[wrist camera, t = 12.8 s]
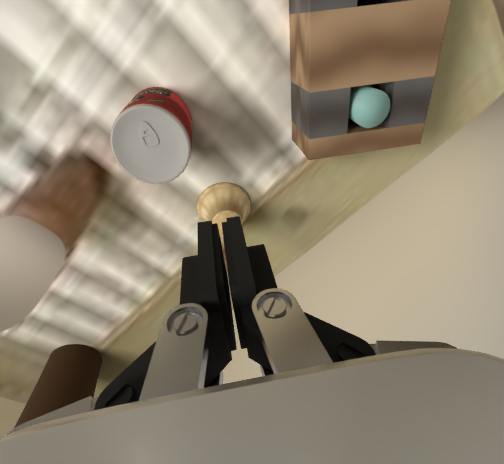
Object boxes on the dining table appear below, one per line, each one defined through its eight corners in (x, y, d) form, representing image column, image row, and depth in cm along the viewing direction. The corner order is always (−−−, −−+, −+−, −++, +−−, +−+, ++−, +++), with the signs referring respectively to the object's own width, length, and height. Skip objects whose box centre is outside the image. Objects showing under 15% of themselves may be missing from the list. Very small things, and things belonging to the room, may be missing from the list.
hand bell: (249, 179, 46) (269, 241, 33) (251, 226, 51) (271, 296, 38) (192, 185, 45) (191, 251, 32) (200, 232, 50) (202, 306, 37)
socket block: (287, -77, 31) (311, -103, 25) (419, -89, 32) (476, -118, 26) (292, 139, 44) (309, 160, 37) (387, 125, 45) (420, 143, 38)
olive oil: (36, 347, 59) (-50, 521, 38) (93, 337, 59) (39, 502, 39) (61, 378, 65) (-2, 543, 44) (113, 368, 65) (74, 526, 45)
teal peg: (333, 82, 39) (357, 92, 33) (364, 78, 39) (393, 87, 33) (331, 115, 41) (353, 130, 35) (360, 111, 41) (387, 125, 36)
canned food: (166, 72, 37) (157, 88, 28) (204, 131, 41) (206, 161, 32) (115, 107, 38) (90, 133, 29) (157, 160, 43) (146, 197, 34)
